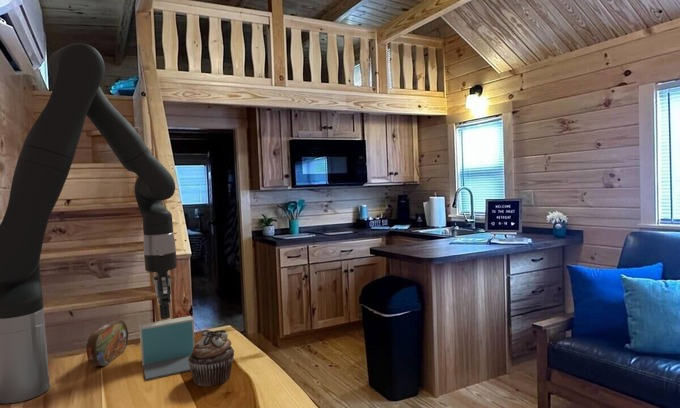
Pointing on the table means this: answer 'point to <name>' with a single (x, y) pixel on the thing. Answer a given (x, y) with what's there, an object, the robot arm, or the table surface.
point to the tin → (107, 343)
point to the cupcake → (211, 359)
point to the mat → (166, 368)
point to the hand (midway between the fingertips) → (165, 317)
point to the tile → (166, 339)
